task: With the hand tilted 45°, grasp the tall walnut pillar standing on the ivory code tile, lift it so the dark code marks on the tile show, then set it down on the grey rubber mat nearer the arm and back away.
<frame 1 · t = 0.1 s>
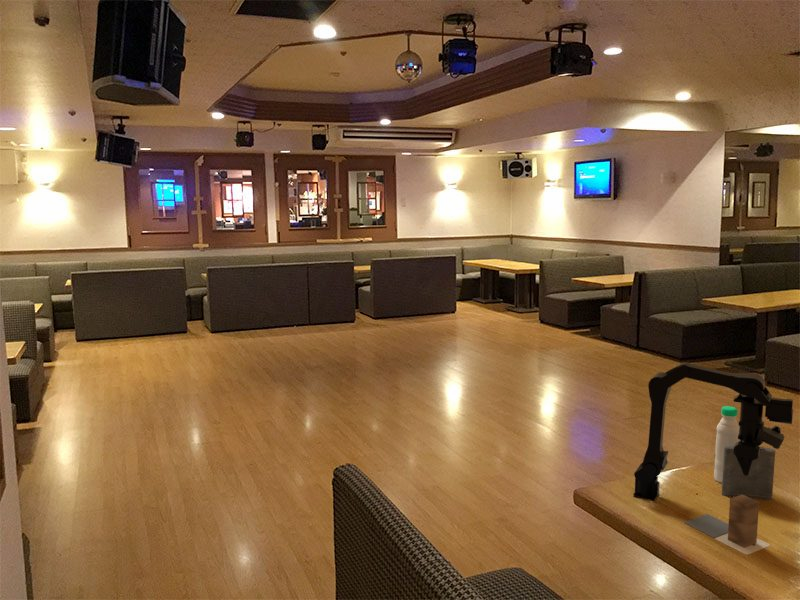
hand: (747, 469, 193), 15 cm above the table, tool pointing down, fingers open, 9 cm apart
flask: (746, 496, 208), on the table
water bottle: (725, 480, 220), on the table
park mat: (710, 527, 190), on the table
code tile: (741, 542, 181), on the table
walnut pillar: (741, 541, 181), resting on code tile
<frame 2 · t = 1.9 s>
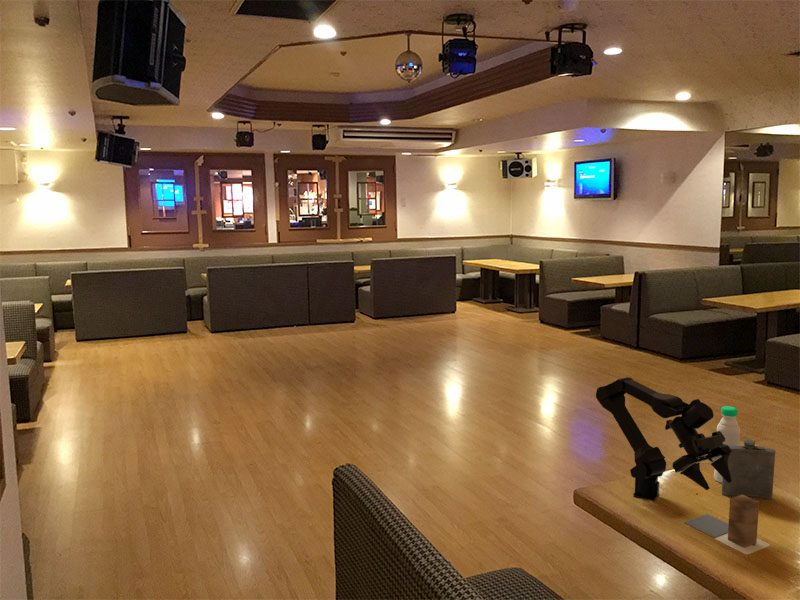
hand: (719, 485, 186), 13 cm above the table, tool tilted 45°, fingers open, 9 cm apart
nothing on the table moved.
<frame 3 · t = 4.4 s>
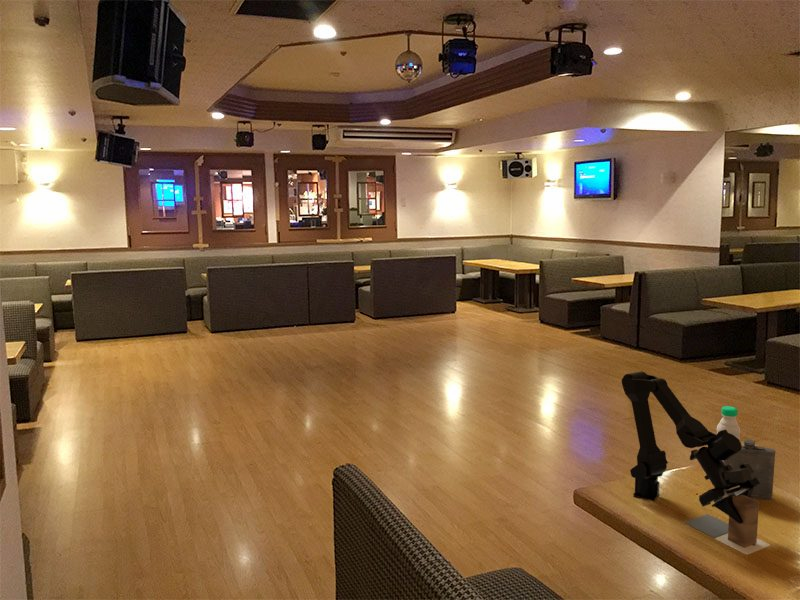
hand: (748, 520, 179), 7 cm above the table, tool tilted 45°, fingers closed on walnut pillar, 5 cm apart
walnut pillar: (741, 541, 181), resting on code tile, touching gripper
everything else where it was.
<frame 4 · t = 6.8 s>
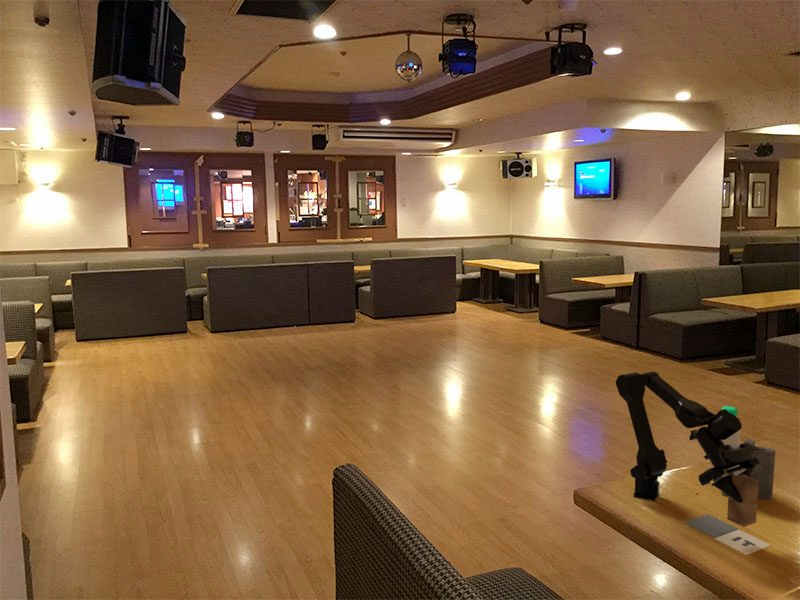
hand: (747, 499, 178), 13 cm above the table, tool tilted 45°, fingers closed on walnut pillar, 5 cm apart
walnut pillar: (741, 520, 180), point 6 cm above the table, touching gripper
everything else where it was.
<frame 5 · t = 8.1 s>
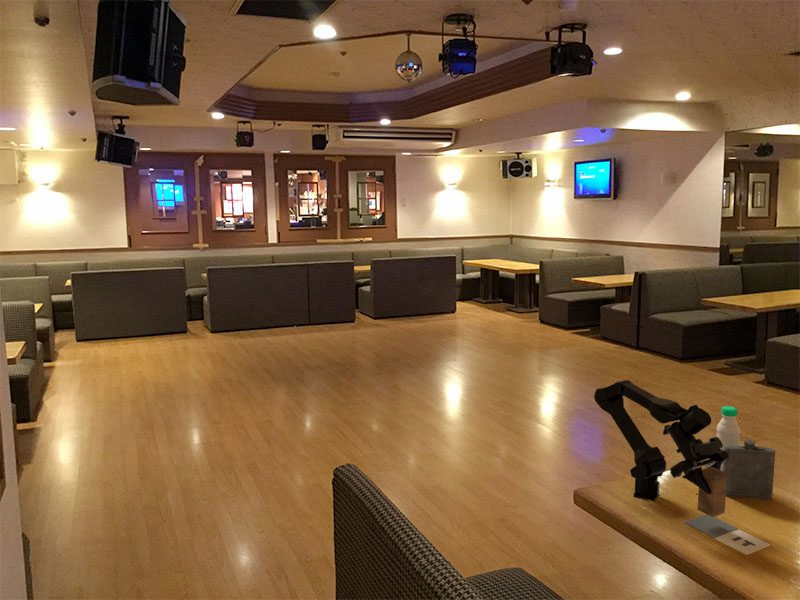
hand: (716, 491, 187), 11 cm above the table, tool tilted 45°, fingers closed on walnut pillar, 5 cm apart
walnut pillar: (711, 511, 189), point 5 cm above the table, touching gripper
everything else where it was.
when the fingers open (8 cm above the table, at t = 9.1 s): walnut pillar stays where it is, resting on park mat.
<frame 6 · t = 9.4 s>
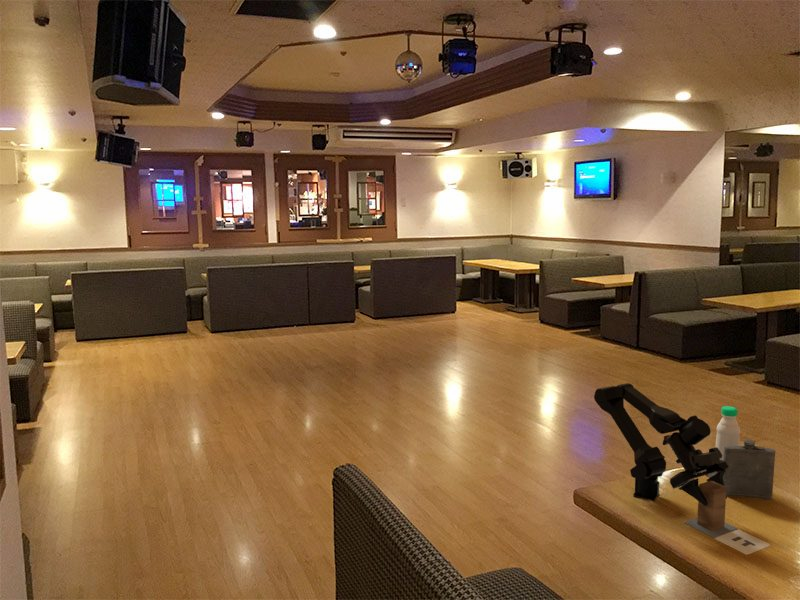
hand: (716, 502, 187), 8 cm above the table, tool tilted 45°, fingers open, 8 cm apart
walnut pillar: (710, 525, 189), point 1 cm above the table, touching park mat
everything else where it was.
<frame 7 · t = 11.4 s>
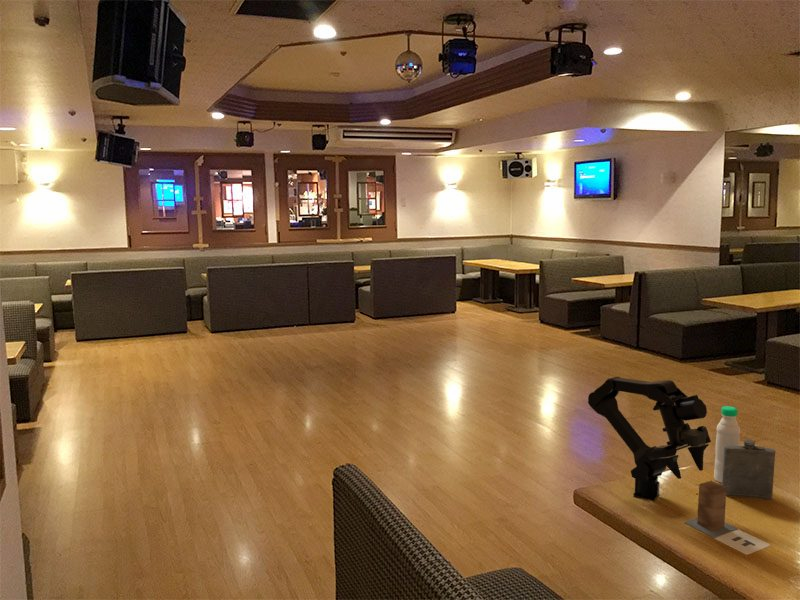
hand: (690, 474, 196), 12 cm above the table, tool tilted 25°, fingers open, 9 cm apart
nothing on the table moved.
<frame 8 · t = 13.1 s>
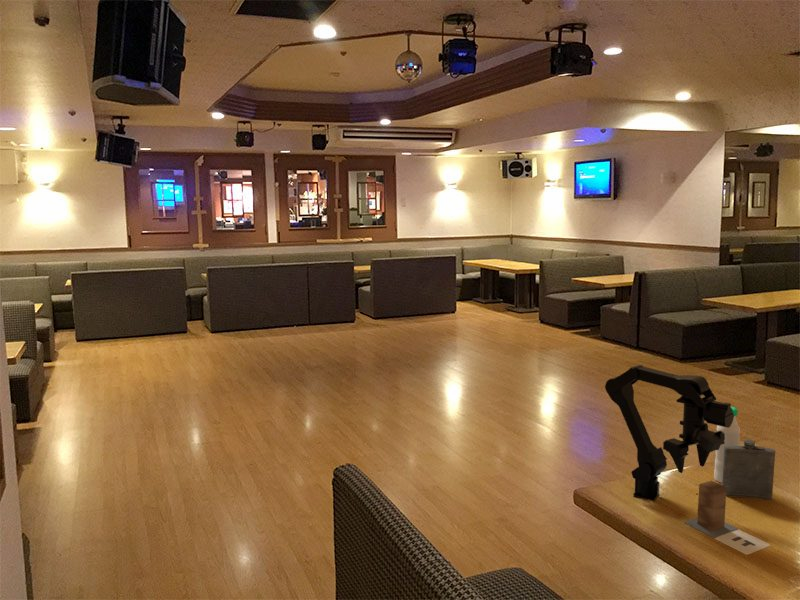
hand: (691, 469, 198), 13 cm above the table, tool pointing down, fingers open, 9 cm apart
nothing on the table moved.
at the end: walnut pillar inside the target area on the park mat (0.0 cm from its centre), point 0.6 cm above the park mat's base; walnut pillar tilted 0°; walnut pillar touching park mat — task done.
